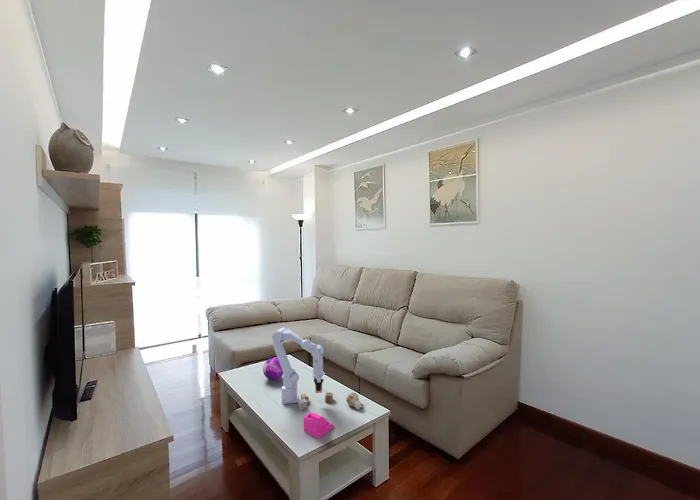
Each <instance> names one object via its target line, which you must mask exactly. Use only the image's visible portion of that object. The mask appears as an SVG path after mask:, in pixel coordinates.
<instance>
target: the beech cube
mask: <svg viewBox="0 0 700 500" xmlns="http://www.w3.org/2000/svg"><path fill="white" fill-rule="evenodd" d="M304 398H305V400H306V401H307V404H309V402H310V396H309V394H308V393H307V392H306V393H302V394H300V400H301V399H304Z"/></svg>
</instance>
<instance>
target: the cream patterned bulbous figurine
mask: <svg viewBox="0 0 700 500" xmlns="http://www.w3.org/2000/svg"><path fill="white" fill-rule="evenodd" d="M346 402H347V404H348V405H349V406H351V407H353V408H355V409H356V410H357V411H359V410H361V408H363V409H364V408H365V404H363V403H362V402H361V401H360V398H359V395H358V394H357V393H356V392H351V393H349V394H348V395H347V396H346Z"/></svg>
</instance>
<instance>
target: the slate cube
mask: <svg viewBox="0 0 700 500" xmlns="http://www.w3.org/2000/svg"><path fill="white" fill-rule="evenodd" d="M297 407H298V409H299V411H302V410H305V409H307V408H308V403H307V401H306V400H305V398H304V399H301V398H300V399H298V402H297Z"/></svg>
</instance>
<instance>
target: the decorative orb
mask: <svg viewBox="0 0 700 500" xmlns="http://www.w3.org/2000/svg"><path fill="white" fill-rule="evenodd" d="M262 371H263V375H264V376H265V378H266V379H267V380H270V381H276V380H279V379H281V378H282V376H283V370H282V368H281V365H280V363H279V360H278V358H277V356H276V357H275V356H273V357H270V358H268V359H267V360H266V361H265V362H264V365H263V368H262Z"/></svg>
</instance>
